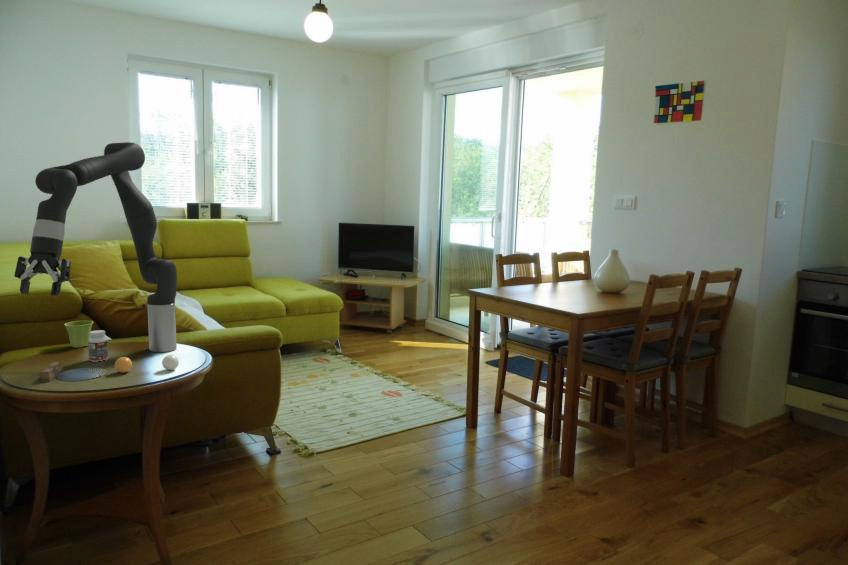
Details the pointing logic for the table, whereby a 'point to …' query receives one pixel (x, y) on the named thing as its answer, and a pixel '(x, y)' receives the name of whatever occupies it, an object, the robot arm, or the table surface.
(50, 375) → the stopper wall
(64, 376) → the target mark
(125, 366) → the object ball
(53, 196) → the robot arm
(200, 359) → the table surface
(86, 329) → the plant pot
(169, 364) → the cue ball
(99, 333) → the pill bottle
